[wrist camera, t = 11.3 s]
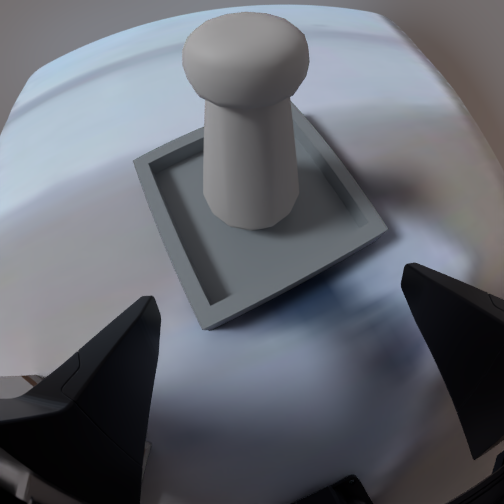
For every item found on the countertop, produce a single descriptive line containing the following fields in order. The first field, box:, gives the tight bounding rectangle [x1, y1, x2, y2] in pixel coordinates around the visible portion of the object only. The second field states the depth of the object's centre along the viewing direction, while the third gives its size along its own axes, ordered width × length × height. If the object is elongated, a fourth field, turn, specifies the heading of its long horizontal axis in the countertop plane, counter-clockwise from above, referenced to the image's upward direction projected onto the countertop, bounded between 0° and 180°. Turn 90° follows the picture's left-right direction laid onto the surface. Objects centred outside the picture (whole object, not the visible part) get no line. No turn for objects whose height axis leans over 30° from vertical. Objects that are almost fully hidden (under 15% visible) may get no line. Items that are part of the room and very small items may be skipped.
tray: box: [133, 101, 388, 331], centre depth 19 cm, size 13×13×2 cm
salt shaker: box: [182, 12, 309, 231], centre depth 13 cm, size 6×6×13 cm
